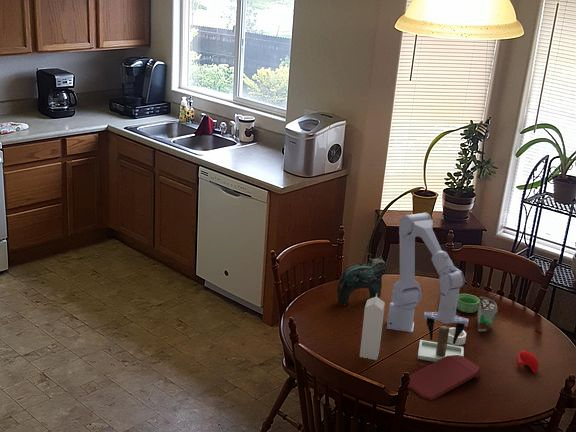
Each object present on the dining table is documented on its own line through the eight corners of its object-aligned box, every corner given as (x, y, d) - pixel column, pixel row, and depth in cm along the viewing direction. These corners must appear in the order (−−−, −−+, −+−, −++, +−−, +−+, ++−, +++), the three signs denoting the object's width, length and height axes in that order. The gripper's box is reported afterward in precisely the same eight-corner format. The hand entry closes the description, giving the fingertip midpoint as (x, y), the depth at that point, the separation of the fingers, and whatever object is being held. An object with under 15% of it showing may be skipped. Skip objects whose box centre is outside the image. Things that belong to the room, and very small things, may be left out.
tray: (417, 359, 238) (417, 355, 237) (419, 344, 248) (420, 339, 247) (462, 367, 235) (463, 363, 234) (462, 351, 245) (463, 347, 244)
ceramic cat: (377, 294, 284) (382, 248, 277) (386, 301, 278) (391, 255, 272) (334, 301, 276) (338, 254, 269) (341, 308, 270) (346, 260, 264)
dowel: (435, 355, 240) (439, 329, 237) (436, 350, 243) (440, 325, 240) (444, 357, 239) (448, 331, 236) (445, 352, 242) (449, 326, 239)
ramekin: (481, 307, 278) (482, 297, 277) (474, 316, 271) (475, 306, 270) (459, 301, 283) (461, 291, 281) (451, 309, 275) (453, 299, 274)
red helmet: (510, 358, 236) (525, 357, 231) (518, 347, 239) (533, 346, 235) (522, 377, 237) (537, 376, 232) (530, 366, 241) (544, 365, 236)
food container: (495, 337, 256) (499, 312, 253) (477, 334, 257) (482, 310, 254) (492, 321, 268) (497, 297, 264) (476, 319, 269) (480, 295, 265)
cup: (444, 344, 249) (445, 335, 248) (444, 334, 256) (446, 326, 254) (464, 347, 247) (466, 339, 246) (464, 338, 254) (466, 329, 253)
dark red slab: (427, 411, 217) (484, 379, 229) (427, 399, 215) (485, 367, 227) (401, 391, 226) (457, 362, 238) (401, 379, 224) (457, 350, 236)
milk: (359, 357, 237) (365, 298, 230) (362, 348, 243) (367, 290, 235) (377, 360, 236) (383, 301, 229) (379, 351, 242) (386, 293, 234)
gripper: (425, 306, 233) (420, 342, 237) (470, 313, 230) (464, 350, 234) (426, 297, 239) (421, 332, 244) (470, 304, 236) (464, 339, 241)
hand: (442, 340), depth 239 cm, fingers open, 7 cm apart
